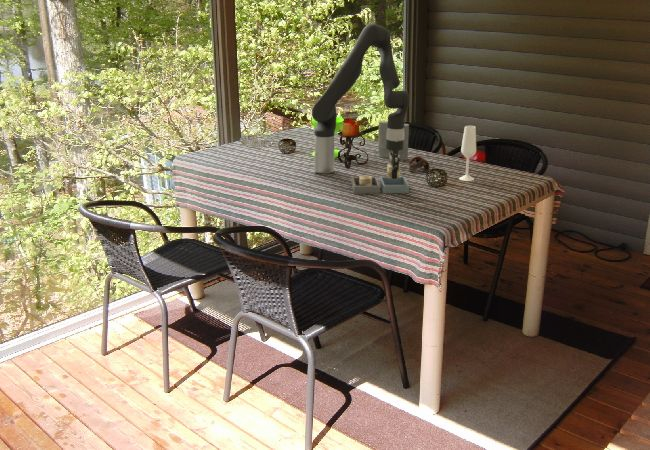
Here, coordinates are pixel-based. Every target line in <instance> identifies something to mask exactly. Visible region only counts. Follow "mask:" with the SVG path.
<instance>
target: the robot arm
mask: <svg viewBox="0 0 650 450" xmlns="http://www.w3.org/2000/svg"><path fill="white" fill-rule="evenodd" d="M371 47H373V48H376V49H377V50H378V53H379V56H380V64H379V67H378V68H379V70H378V71H379V74H380V79H381V82H382V84H383V102H384V105H385V106H386V108H388V109H396V110H395V111H393V112H391V113H389V114H388V116H387V121H388V123H387V134H386V149H388V150H390V153H389V156H390V158H388V159H389V163H388V164H391V165H392V179H396V178H397V170H398V169H399V165H400V160H399V159H400V158H399V157H400V154H399V152H398V151H399V150H403V148H404V124H405V118H406V115H407V111H408V108H409V106H410V105H409V104H410V100H411V98H410V94H409V93H408V91H406V90H396V89H397V88H398V87H399V86H400V84H401V81H400V78H399V74H398V71H397V68H396V66H395V60H394V56H393V48H392V42H391V35H390V32H389V30H388V29H387V28H386V27H384V26H383V25H379V24H376V23H373V22H370V23H368V24H366V25H365V26H364V28H363V29H362V31H361V32H360V34H359V36H358V38H357V40H356V41H355V43H354V46H353V47H352V49H351V51H350V52H349V54H348V55H347V57H345V60H344V62H343V63H342V64H341V65H340V67H339V69H338V70H337V71H336V74H335V75H334V76H333V78H332V80H331V81H330V83H329V84H328V86H327V88H326V89H325V91H324V93H323V94H322V95H321V97H319V99H318V100H317V101H316V102H315V104H314V105H313V106H312V108H311V117H312V119H313V118H314V120H315V121H317V122H318V123H317V126H316V128H314V131H313V132H314V133H313V134H314V150H313V152H314V156H313V157H314V158H313V159H314V173H315V172H316V173H319V174H331V173H334V172H335V158H334V149H335V134H334V132H335V128H336V117H337V107H336V105H337V104H338V102H339V101H340V99H342V98H343V97H344V96H345V95H347V93H348V92H349V91H350V90H351V89H352V87H353V86H354V85H355V84H356V82H357V81H358V79H359V78H360V76H361V74H362V69H363V60H364V57H365V56H366V53H367V52H368V50H369V49H370V48H371ZM395 165H396V167H394V166H395Z"/></svg>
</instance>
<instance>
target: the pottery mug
mask: <svg viewBox="0 0 650 450" xmlns="http://www.w3.org/2000/svg"><path fill="white" fill-rule="evenodd" d="M413 162H415V163H413ZM412 163H413V164H412ZM422 167H423V170H428V171H429V170H430V171H431V167H430V164H429V161H428V159H426V158H425V157H423V156H422V155H416V156H414V157H412V158H410V160H409V162H408V171H409V172H411V171H415V170H422Z"/></svg>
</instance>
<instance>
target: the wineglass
mask: <svg viewBox="0 0 650 450" xmlns="http://www.w3.org/2000/svg"><path fill="white" fill-rule="evenodd" d="M343 121H344V122H345V120H344V118H342V117H340V116H336V128H335V132H334V135H336V134H337V133H339V131H340V130H341V129H342V128H343V126H342V125H344V122H343ZM311 122H312V126H313V128H314V129H315V128H316V126H317V123H318V122H317V121H315V120H314V118H313V117H312V119H311ZM339 151H340V149H335V148H334V159H337V158H336V157H338V152H339ZM311 155H312V156H313V157H314V151H313V152H312V154H311Z"/></svg>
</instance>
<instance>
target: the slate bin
mask: <svg viewBox="0 0 650 450" xmlns="http://www.w3.org/2000/svg"><path fill="white" fill-rule="evenodd" d="M379 185H380V189H381V190H382V193H383V194H409V193H410V185H409V182H408V180H407V179H406V177H405V176H400V178H396V179H392V178H388V176H379Z"/></svg>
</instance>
